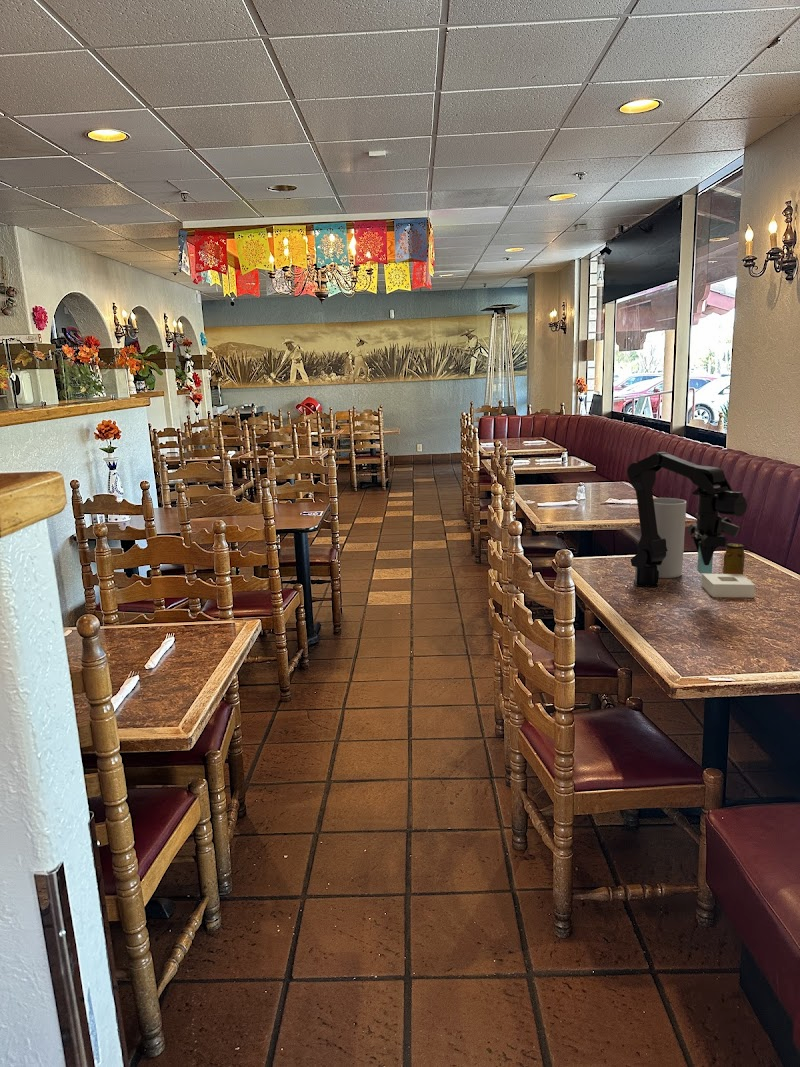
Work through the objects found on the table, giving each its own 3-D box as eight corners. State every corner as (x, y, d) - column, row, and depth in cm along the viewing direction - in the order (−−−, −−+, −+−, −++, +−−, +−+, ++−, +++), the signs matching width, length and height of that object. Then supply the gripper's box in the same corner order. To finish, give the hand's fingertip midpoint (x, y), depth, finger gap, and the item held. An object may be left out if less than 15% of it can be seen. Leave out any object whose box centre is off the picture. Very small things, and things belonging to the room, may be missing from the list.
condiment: (727, 576, 243) (730, 541, 240) (753, 581, 236) (756, 545, 234) (716, 580, 238) (719, 544, 236) (742, 586, 232) (745, 549, 229)
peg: (700, 573, 215) (702, 543, 213) (697, 570, 218) (699, 541, 216) (711, 573, 214) (713, 543, 212) (708, 570, 217) (710, 541, 215)
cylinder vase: (677, 569, 253) (681, 497, 247) (685, 579, 241) (690, 504, 235) (639, 568, 255) (643, 497, 249) (646, 578, 242) (650, 504, 237)
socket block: (712, 596, 221) (713, 584, 220) (701, 585, 233) (702, 573, 232) (754, 597, 220) (755, 584, 219) (741, 586, 231) (741, 574, 231)
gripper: (748, 517, 202) (744, 572, 205) (727, 505, 220) (723, 556, 224) (706, 517, 204) (702, 571, 207) (688, 505, 222) (685, 556, 225)
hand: (704, 563), depth 215 cm, fingers closed on peg, 3 cm apart
